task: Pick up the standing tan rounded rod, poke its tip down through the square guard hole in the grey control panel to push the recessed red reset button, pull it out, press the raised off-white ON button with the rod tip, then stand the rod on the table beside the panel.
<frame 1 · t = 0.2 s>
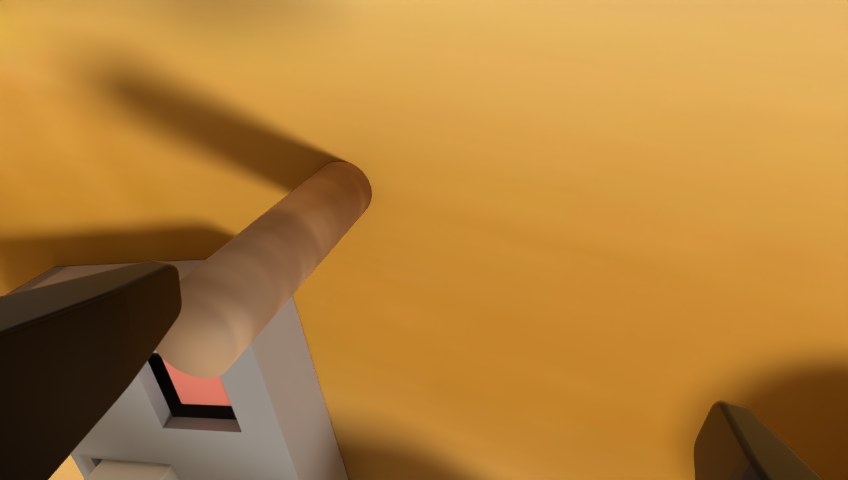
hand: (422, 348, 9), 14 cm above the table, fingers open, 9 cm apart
reset button: (207, 368, 28), point 2 cm above the table, slide at 0.0 cm
tan rounded rod: (343, 190, 24), on the table
panel: (209, 386, 32), on the table
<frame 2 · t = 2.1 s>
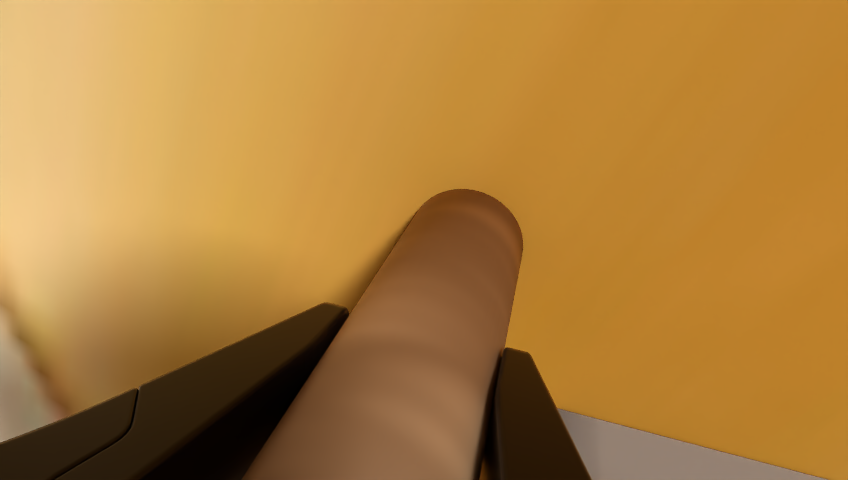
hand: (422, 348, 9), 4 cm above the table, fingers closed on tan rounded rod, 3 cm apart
tan rounded rod: (465, 243, 13), on the table, touching gripper
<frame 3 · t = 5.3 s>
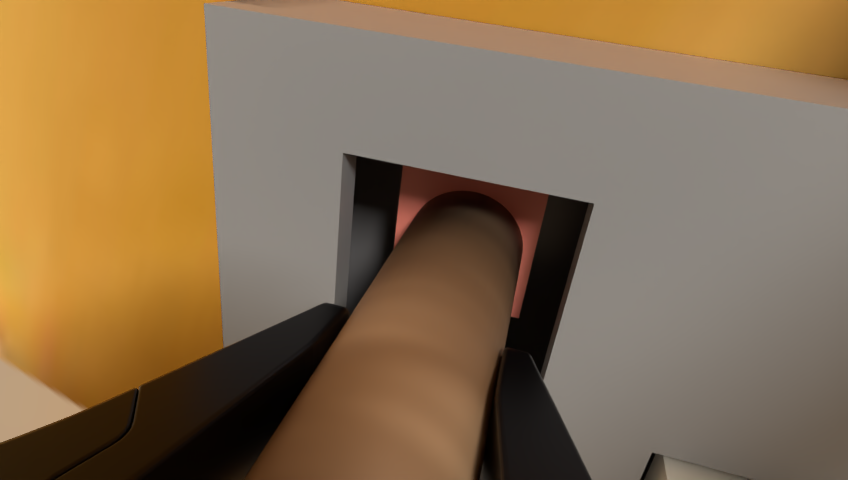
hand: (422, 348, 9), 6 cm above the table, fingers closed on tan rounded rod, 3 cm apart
reset button: (468, 229, 13), point 1 cm above the table, slide at 0.9 cm, touching tan rounded rod
tan rounded rod: (465, 244, 13), point 2 cm above the table, touching gripper, reset button
panel: (569, 315, 15), on the table
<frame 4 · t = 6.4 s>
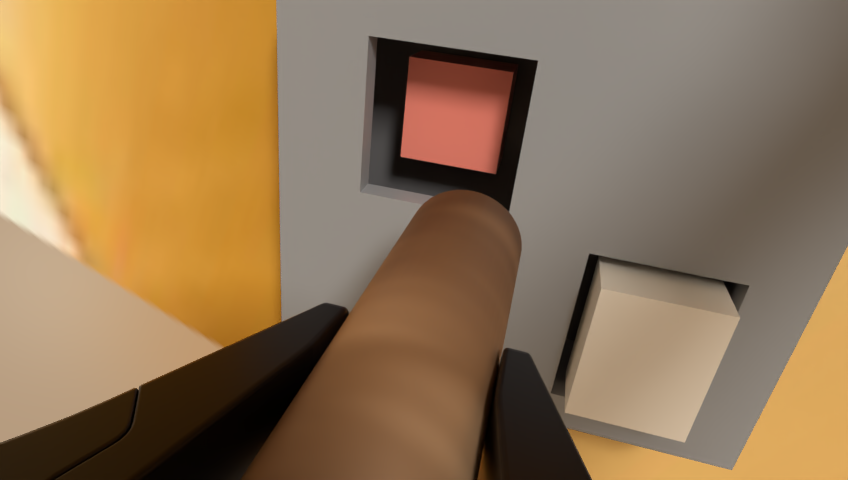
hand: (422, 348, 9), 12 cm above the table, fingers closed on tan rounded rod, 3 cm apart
reset button: (458, 111, 18), point 1 cm above the table, slide at 0.9 cm
tan rounded rod: (463, 243, 13), point 8 cm above the table, touching gripper
on button: (641, 348, 17), point 4 cm above the table, slide at 0.0 cm
panel: (537, 186, 20), on the table
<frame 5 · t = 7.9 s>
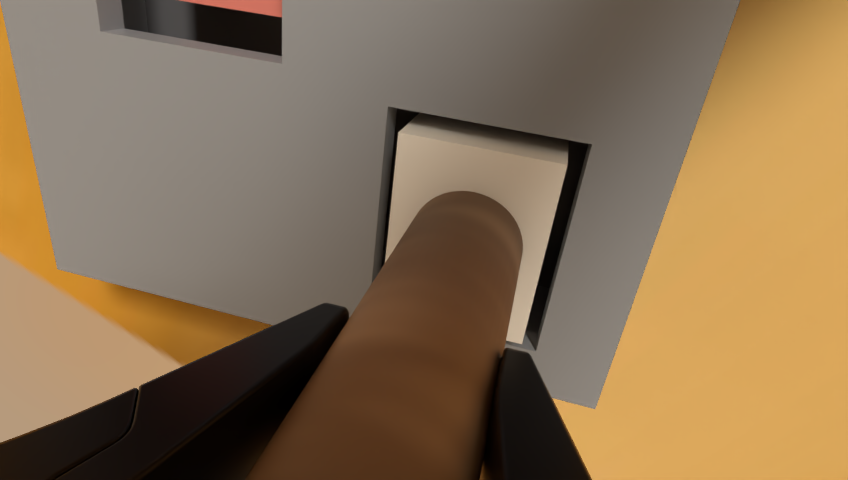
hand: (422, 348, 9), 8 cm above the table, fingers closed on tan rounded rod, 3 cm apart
tan rounded rod: (465, 244, 13), point 4 cm above the table, touching gripper, on button
on button: (471, 227, 14), point 3 cm above the table, slide at 0.8 cm, touching tan rounded rod
panel: (369, 54, 16), on the table
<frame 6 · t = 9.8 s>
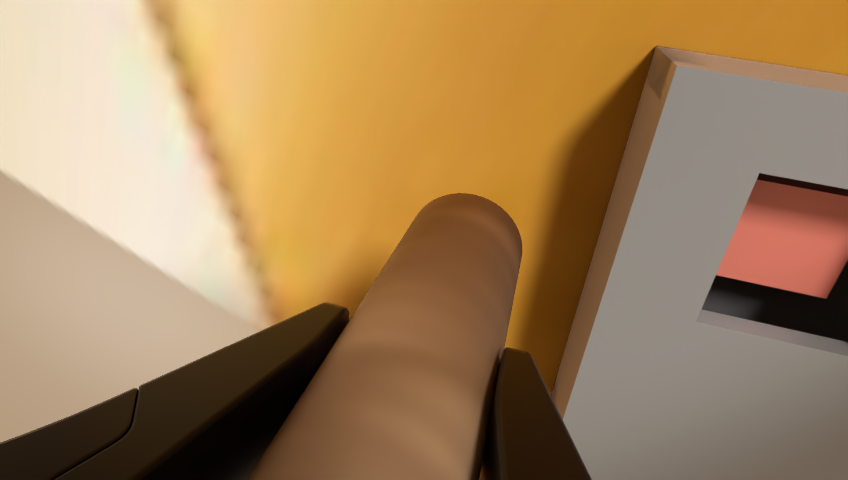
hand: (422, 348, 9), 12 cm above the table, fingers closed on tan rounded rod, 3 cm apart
reset button: (783, 229, 17), point 1 cm above the table, slide at 0.9 cm
tan rounded rod: (464, 246, 13), point 8 cm above the table, touching gripper
panel: (834, 298, 19), on the table
when the fingers open (5 cm above the table, at t = 11.1 s): tan rounded rod stays where it is, on the table.
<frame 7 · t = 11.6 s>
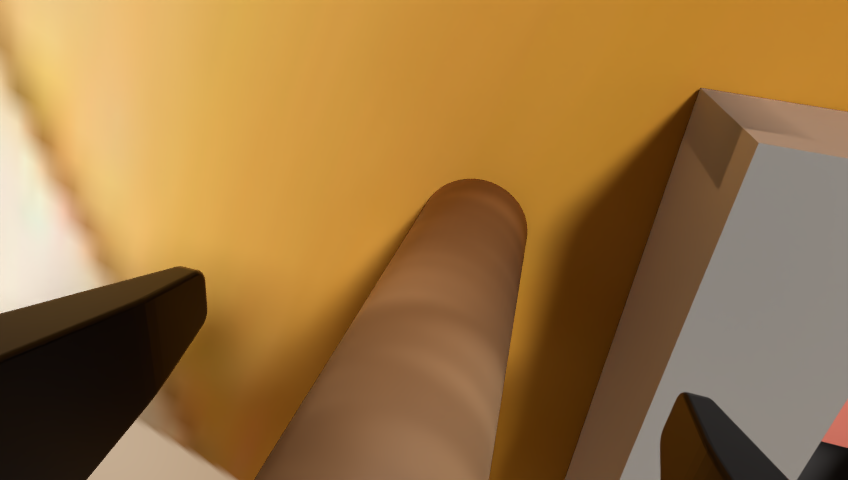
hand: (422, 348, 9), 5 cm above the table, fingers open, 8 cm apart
tan rounded rod: (473, 229, 13), on the table
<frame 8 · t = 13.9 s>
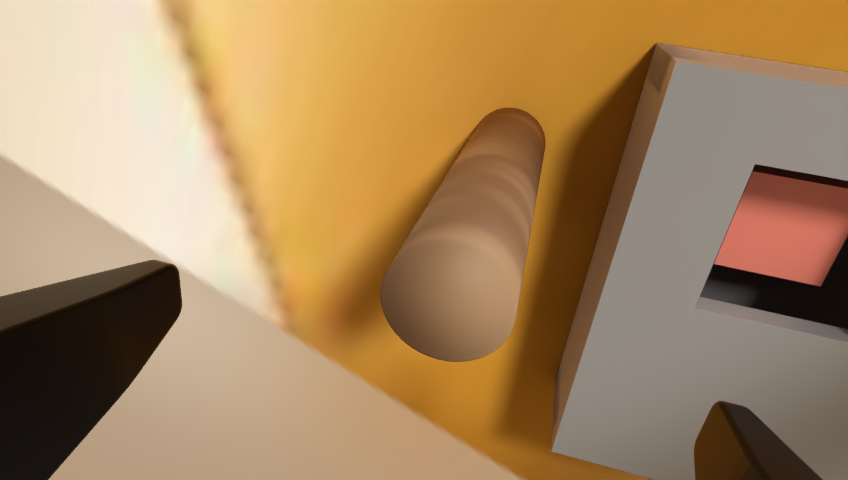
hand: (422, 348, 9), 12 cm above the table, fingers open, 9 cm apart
reset button: (779, 220, 18), point 1 cm above the table, slide at 0.9 cm
tan rounded rod: (508, 144, 20), on the table
panel: (829, 287, 19), on the table
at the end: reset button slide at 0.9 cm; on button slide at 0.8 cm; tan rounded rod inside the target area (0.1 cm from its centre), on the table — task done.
